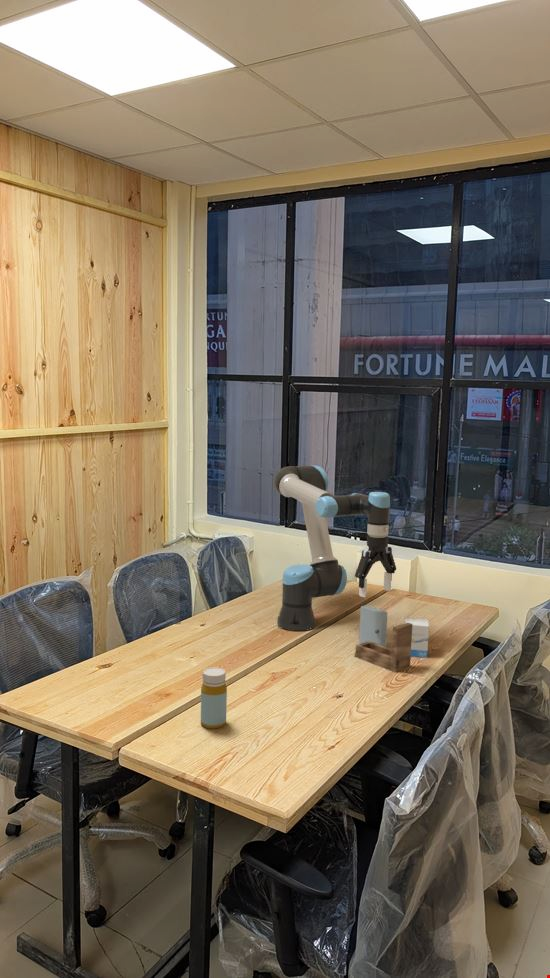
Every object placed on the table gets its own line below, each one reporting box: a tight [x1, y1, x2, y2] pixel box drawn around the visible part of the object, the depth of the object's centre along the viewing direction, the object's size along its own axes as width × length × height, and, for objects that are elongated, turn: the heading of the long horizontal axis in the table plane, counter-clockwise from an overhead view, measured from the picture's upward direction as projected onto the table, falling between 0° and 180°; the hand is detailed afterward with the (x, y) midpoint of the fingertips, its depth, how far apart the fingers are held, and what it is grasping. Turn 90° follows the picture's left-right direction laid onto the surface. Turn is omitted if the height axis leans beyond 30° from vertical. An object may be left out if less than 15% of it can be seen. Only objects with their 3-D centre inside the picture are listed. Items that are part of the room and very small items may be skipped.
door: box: [358, 604, 388, 647], centre depth 257 cm, size 10×4×14 cm, turn 42°
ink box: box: [404, 617, 430, 658], centre depth 253 cm, size 9×8×12 cm
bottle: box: [200, 666, 228, 730], centre depth 194 cm, size 7×7×15 cm
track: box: [354, 622, 412, 673], centre depth 243 cm, size 18×8×15 cm, turn 42°
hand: (375, 593), depth 256 cm, fingers open, 13 cm apart
